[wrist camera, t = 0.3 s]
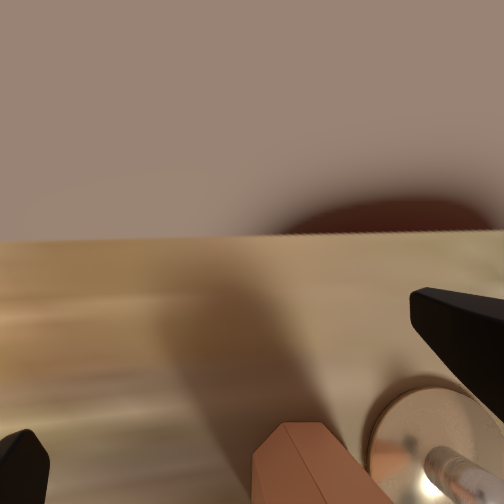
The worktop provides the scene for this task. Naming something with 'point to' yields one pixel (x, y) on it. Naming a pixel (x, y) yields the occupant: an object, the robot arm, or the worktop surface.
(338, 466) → the terracotta pot
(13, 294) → the worktop surface
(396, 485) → the silver pot lid
